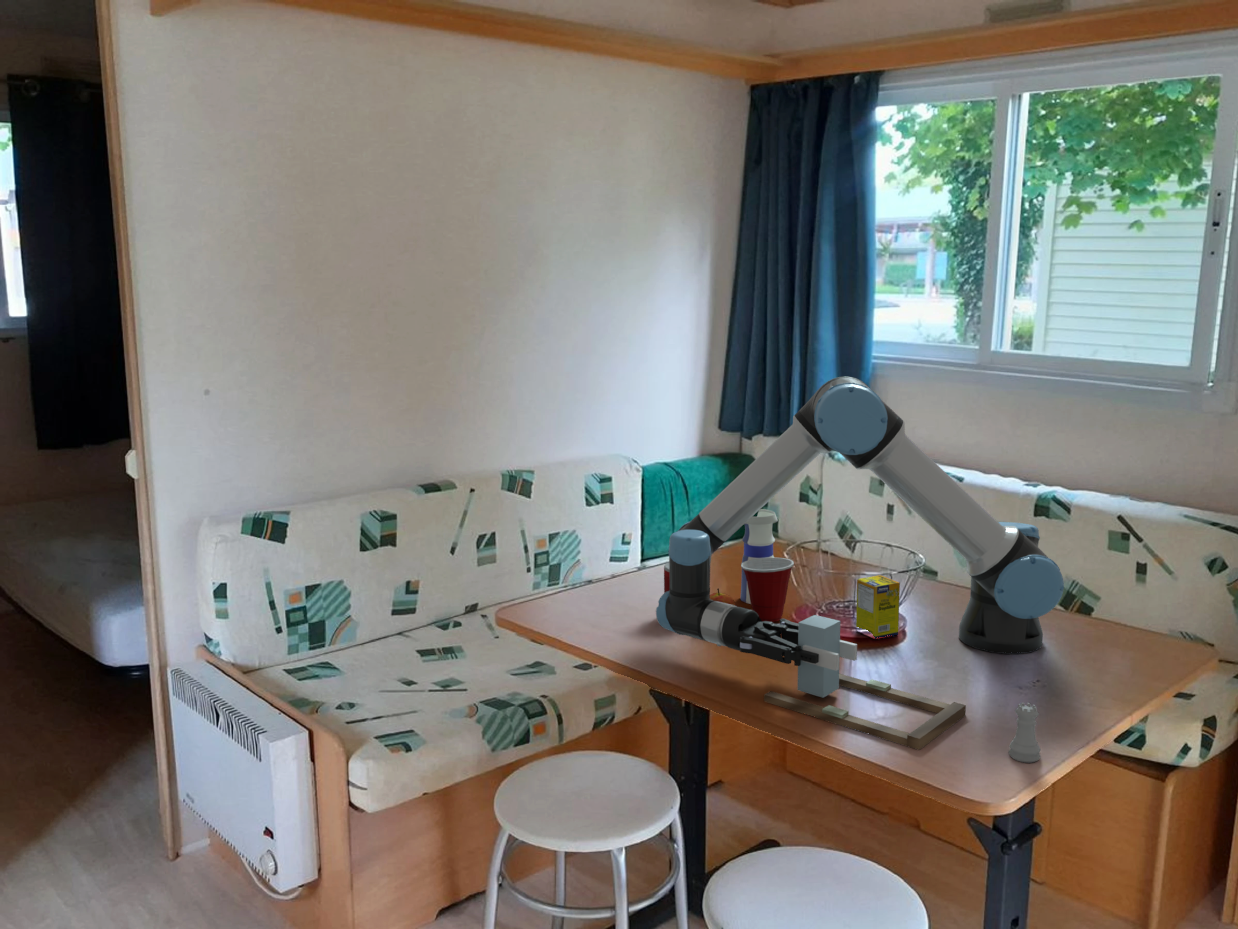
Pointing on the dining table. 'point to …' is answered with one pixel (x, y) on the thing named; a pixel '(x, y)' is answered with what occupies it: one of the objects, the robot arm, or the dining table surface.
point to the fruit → (722, 598)
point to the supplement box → (878, 605)
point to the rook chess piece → (1025, 735)
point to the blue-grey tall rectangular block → (820, 636)
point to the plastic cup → (768, 585)
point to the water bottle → (757, 543)
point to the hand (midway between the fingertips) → (846, 657)
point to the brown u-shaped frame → (915, 739)
